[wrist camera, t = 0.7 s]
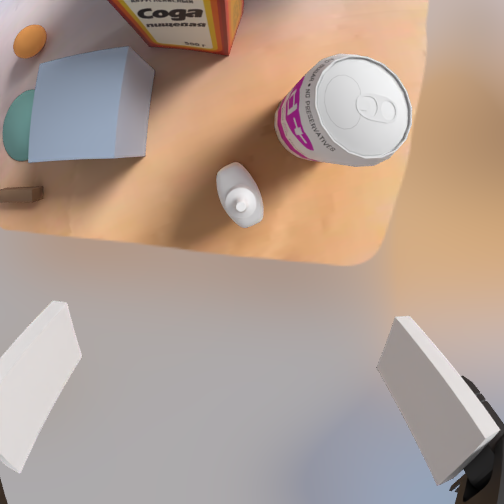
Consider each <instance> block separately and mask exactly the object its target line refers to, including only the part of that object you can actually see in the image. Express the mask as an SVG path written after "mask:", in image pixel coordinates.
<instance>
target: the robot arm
mask: <svg viewBox="0 0 504 504" xmlns="http://www.w3.org/2000/svg"><path fill="white" fill-rule="evenodd" d="M81 357H82V354H81V351H80V348H79V344H78V341H77V338H76V335H75V331H74V327H73V324H72V320H71V316H70V312H69V308H68V305H67V303H65V302H59V301H52V302H51V303H50V304H49V305H48V306H47V307H46V308H45V309H44V310H43V311H42V312H41V313H40V314H39V315H38V316H37V318H35V320H34V321H33V322H32V323H31V324H30V325H29V326H28V327H27V328H26V329H25V330H24V331H23V333H22V334H21V335H20V336H19V337H18V338H17V339H16V340H15V341H14V343H13V344H12V345H11V346H10V347H9V348H8V349H7V351H6V352H5V353H4V354H3V355H2V357H1V358H0V461H1V462H2V463H3V464H4V465H6V466H8V467H9V468H11V469H12V470H14V471H16V472H18V473H21V471H22V469H23V466H24V464H25V462H26V459H27V457H28V455H29V453H30V451H31V449H32V447H33V445H34V443H35V441H36V438H37V436H38V434H39V432H40V430H41V428H42V427H43V425H44V423H45V421H46V419H47V417H48V415H49V413H50V411H51V409H52V407H53V405H54V404H55V402H56V400H57V398H58V396H59V395H60V393H61V391H62V389H63V388H64V386H65V384H66V382H67V381H68V379H69V377H70V376H71V374H72V372H73V370H74V369H75V367H76V366H77V364H78V362H79V361H80V359H81ZM376 368H377V370H378V371H379V373H380V375H381V377H382V379H383V380H384V382H385V384H386V386H387V388H388V389H389V391H390V393H391V395H392V397H393V399H394V401H395V402H396V404H397V406H398V408H399V410H400V411H401V414H402V415H403V417H404V419H405V421H406V423H407V425H408V427H409V429H410V431H411V433H412V435H413V437H414V439H415V441H416V443H417V445H418V447H419V448H420V450H421V453H422V455H423V457H424V459H425V461H426V463H427V465H428V467H429V469H430V471H431V473H432V475H433V478H434V480H435V482H436V484H437V486H438V485H441V484H443V483H445V482H447V481H449V480H451V479H453V478H454V477H455V476H456V475H457V474H458V473H460V472H461V471H462V470H463V469H464V471H465V474H464V475H463V476H462V477H461V478H460V479H458V480H457V481H456V482H455V483H454V484H453V485H452V486H451V488H450V490H449V491H452V490H453V489H455V488H456V487H457V486H458V485H459V484H460V486H459V487H458V488H457V489H456V491H455V492H458V494H457V498H456V502H455V504H504V424H503V422H502V421H501V419H500V418H499V417H498V415H497V414H496V412H495V411H494V410H493V409H492V407H491V406H490V404H489V403H488V402H487V401H485V398H484V396H483V395H482V394H480V391H479V390H478V389H477V387H476V386H475V385H474V384H473V383H472V382H471V381H470V380H468V379H467V378H465V377H464V376H460V375H459V373H458V372H457V371H456V370H455V369H454V367H453V366H452V365H451V364H450V362H449V361H448V360H447V359H446V357H445V356H444V355H443V354H442V353H441V351H440V350H439V349H438V348H437V347H436V346H435V344H434V343H433V342H432V341H431V340H430V339H429V337H428V336H427V335H426V334H425V333H424V332H423V331H422V329H421V328H420V327H419V326H418V325H417V324H416V323H415V321H414V320H413V319H412V318H411V317H410V316H401V317H395V319H394V322H393V325H392V328H391V331H390V334H389V336H388V339H387V342H386V344H385V347H384V350H383V352H382V355H381V357H380V360H379V362H378V365H377V367H376ZM0 504H7V500H6V497H5V494H4V490H3V487H2V483H1V479H0Z"/></svg>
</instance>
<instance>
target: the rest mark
mask: <svg viewBox="0 0 504 504" xmlns="http://www.w3.org/2000/svg"><path fill="white" fill-rule="evenodd" d="M34 93H35V90H28V91H25V92H23V93H22V94H21V95H19V96H18V97H17V98H16V99H15V100H14V102H13V103H12V104H11V106H10V108H9V110H8V112H7V114H6V117H5V120H4V125H3V142H4V146H5V149H6V151H7V153H8V154H9V155H10V156H11V157H12V158H13V159H15V160H18V161H24V160H28V155H29V137H30V125H31V115H32V107H33V100H34Z"/></svg>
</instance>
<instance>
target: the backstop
mask: <svg viewBox="0 0 504 504" xmlns="http://www.w3.org/2000/svg"><path fill="white" fill-rule="evenodd" d="M40 199H43V187H17V188H4V189H1V190H0V202H34V201H37V200H40Z"/></svg>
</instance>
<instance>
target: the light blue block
mask: <svg viewBox="0 0 504 504" xmlns="http://www.w3.org/2000/svg"><path fill="white" fill-rule="evenodd" d="M154 73H155V70H154V69H153V68H152V67H151V66H150V65H148V64H147V63H146V62H145V61H144V60H143V59H142V58H141V57H140V56H139V55H138V54H137V53H136V52H135V51H134V50H132V49H131V48H130V47H129V46H126V47H118V48H111V49H105V50H99V51H93V52H88V53H83V54H78V55H73V56H69V57H65V58H60V59H57V60H53V61H49V62H45V63H42V64H40V66H39V71H38V76H37V81H36V87H35V93H34V100H33V107H32V115H31V125H30V137H29V155H28V163H32V162H43V161H57V160H75V159H105V158H125V157H139V156H145V152H146V139H147V128H148V119H149V110H150V102H151V94H152V87H153V80H154Z"/></svg>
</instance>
